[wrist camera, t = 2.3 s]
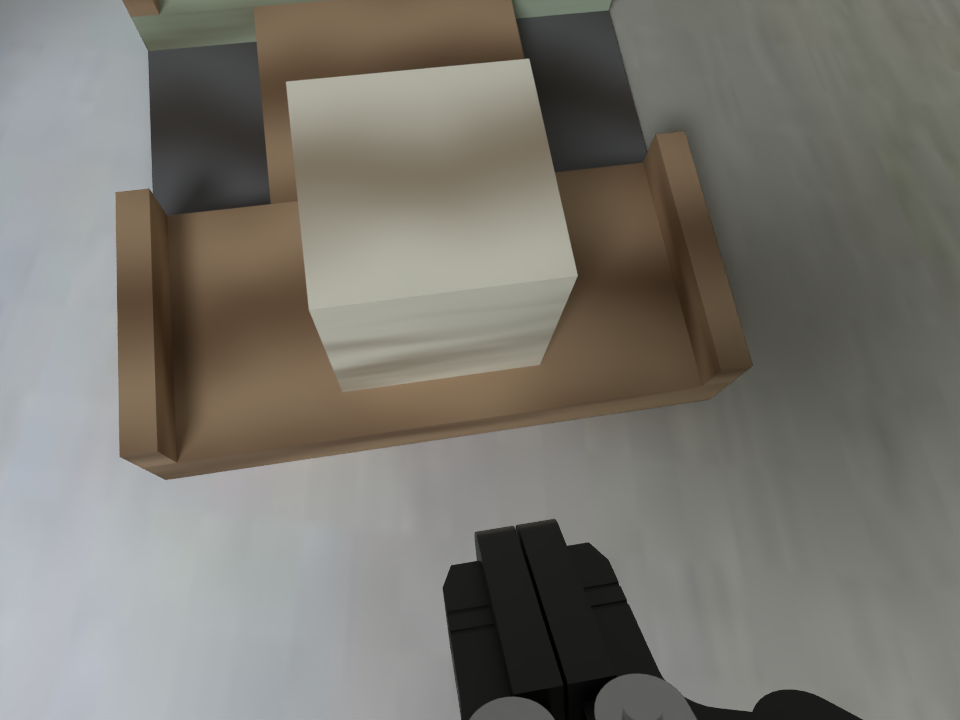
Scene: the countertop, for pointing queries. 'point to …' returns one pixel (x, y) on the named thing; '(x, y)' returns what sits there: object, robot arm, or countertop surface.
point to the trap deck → (279, 253)
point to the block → (429, 221)
